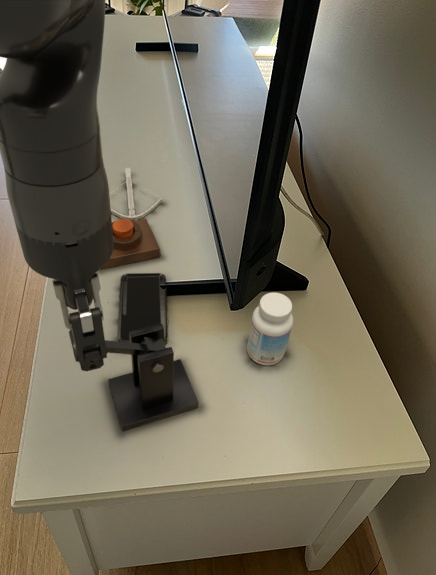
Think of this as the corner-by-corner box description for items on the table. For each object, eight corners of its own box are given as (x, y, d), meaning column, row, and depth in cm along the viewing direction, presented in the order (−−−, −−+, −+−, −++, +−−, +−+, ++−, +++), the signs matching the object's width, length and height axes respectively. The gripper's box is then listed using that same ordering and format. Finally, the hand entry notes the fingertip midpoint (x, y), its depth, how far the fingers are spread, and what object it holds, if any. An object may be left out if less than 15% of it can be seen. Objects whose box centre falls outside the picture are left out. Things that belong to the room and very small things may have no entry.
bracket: (122, 431, 67) (115, 379, 58) (108, 383, 72) (100, 328, 63) (198, 407, 71) (203, 355, 61) (180, 363, 76) (182, 308, 66)
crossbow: (164, 221, 100) (164, 214, 98) (100, 225, 97) (99, 217, 96) (156, 172, 110) (156, 164, 108) (98, 174, 107) (97, 166, 106)
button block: (100, 269, 88) (98, 253, 85) (90, 237, 94) (87, 221, 91) (160, 257, 91) (159, 241, 89) (146, 227, 97) (145, 210, 94)
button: (116, 240, 88) (115, 233, 87) (111, 228, 90) (110, 220, 89) (135, 237, 89) (135, 229, 88) (130, 224, 92) (130, 217, 90)
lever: (73, 365, 56) (81, 352, 55) (66, 335, 59) (74, 322, 58) (161, 370, 64) (170, 358, 62) (151, 343, 66) (159, 332, 65)
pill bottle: (290, 346, 80) (304, 299, 71) (273, 373, 76) (286, 327, 68) (257, 329, 81) (267, 282, 73) (239, 355, 78) (247, 308, 69)
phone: (165, 273, 87) (167, 341, 77) (165, 277, 88) (167, 345, 78) (120, 273, 86) (116, 342, 76) (120, 278, 87) (116, 347, 77)
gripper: (5, 165, 43) (37, 292, 55) (23, 278, 34) (57, 401, 46) (92, 155, 45) (105, 279, 57) (130, 258, 36) (137, 380, 48)
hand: (84, 333), depth 51 cm, fingers open, 8 cm apart
